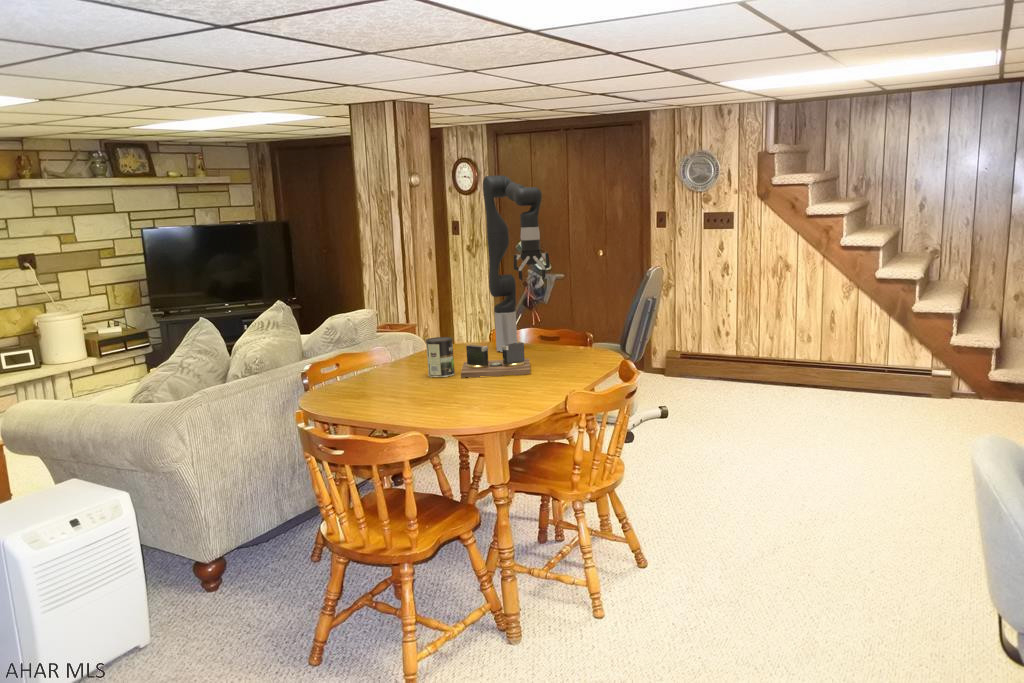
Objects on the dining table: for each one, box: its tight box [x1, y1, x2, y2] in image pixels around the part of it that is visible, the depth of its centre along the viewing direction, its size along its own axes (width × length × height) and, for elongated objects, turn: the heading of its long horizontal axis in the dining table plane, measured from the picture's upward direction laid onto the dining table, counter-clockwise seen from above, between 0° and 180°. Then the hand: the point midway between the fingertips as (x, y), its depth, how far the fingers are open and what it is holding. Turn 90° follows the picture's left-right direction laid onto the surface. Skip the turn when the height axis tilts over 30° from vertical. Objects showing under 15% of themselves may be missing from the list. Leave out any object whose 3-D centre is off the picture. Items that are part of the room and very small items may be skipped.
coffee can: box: [425, 336, 456, 378], centre depth 311 cm, size 10×10×14 cm
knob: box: [502, 341, 526, 367], centre depth 314 cm, size 9×8×8 cm
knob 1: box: [465, 344, 489, 369], centre depth 314 cm, size 9×8×8 cm
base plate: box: [460, 358, 531, 379], centre depth 314 cm, size 22×26×3 cm
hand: (532, 279), depth 323 cm, fingers open, 8 cm apart
